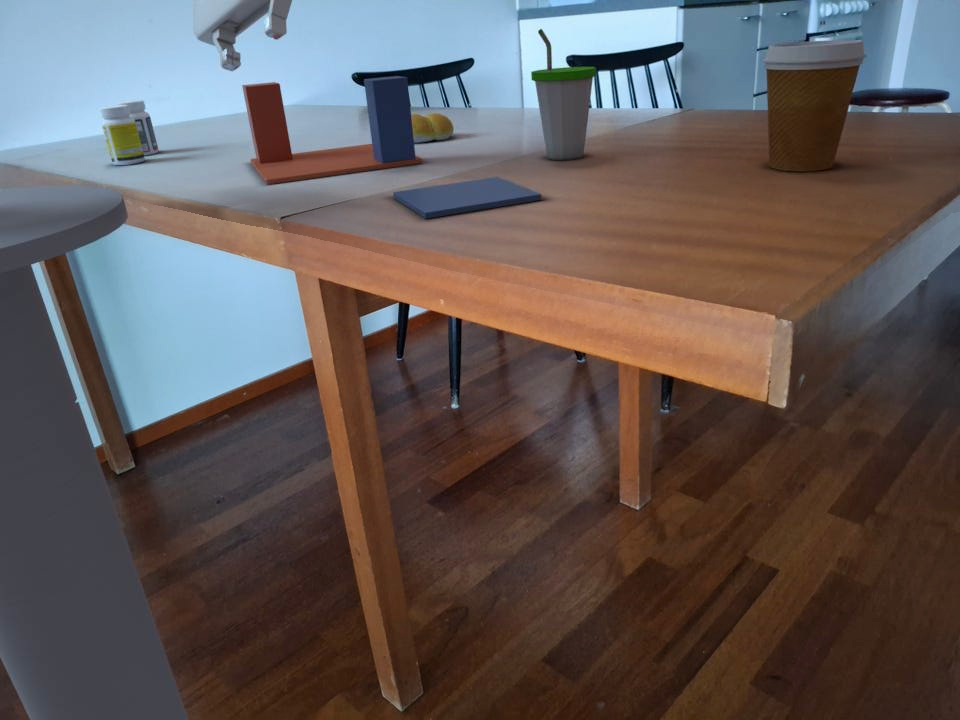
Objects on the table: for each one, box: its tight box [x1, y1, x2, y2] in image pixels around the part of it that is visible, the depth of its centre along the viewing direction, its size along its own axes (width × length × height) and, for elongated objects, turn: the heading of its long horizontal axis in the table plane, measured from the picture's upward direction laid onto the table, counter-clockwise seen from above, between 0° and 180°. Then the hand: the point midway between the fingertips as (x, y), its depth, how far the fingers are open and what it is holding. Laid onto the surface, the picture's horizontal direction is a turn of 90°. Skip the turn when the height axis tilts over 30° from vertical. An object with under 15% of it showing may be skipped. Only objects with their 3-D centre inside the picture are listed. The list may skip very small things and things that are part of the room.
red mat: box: [250, 143, 423, 185], centre depth 99 cm, size 20×19×1 cm
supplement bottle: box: [99, 104, 146, 166], centre depth 111 cm, size 5×5×8 cm
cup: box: [530, 28, 597, 161], centre depth 88 cm, size 8×8×15 cm
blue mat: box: [392, 176, 542, 220], centre depth 74 cm, size 12×11×1 cm
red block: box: [241, 81, 293, 164], centre depth 100 cm, size 4×4×10 cm
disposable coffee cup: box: [762, 39, 868, 172], centre depth 74 cm, size 10×10×12 cm
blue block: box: [363, 75, 416, 163], centre depth 93 cm, size 4×4×10 cm
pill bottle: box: [117, 99, 160, 156], centre depth 120 cm, size 5×5×8 cm
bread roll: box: [411, 112, 455, 144], centre depth 114 cm, size 8×9×4 cm
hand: (252, 52), depth 80 cm, fingers open, 8 cm apart
